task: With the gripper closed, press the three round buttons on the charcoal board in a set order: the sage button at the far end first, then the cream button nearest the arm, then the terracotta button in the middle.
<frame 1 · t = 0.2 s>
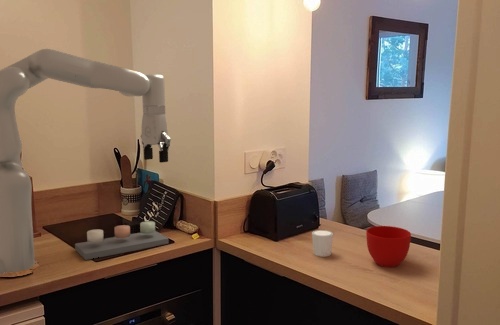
hand: (156, 160, 159), 28 cm above the worktop, tool pointing down, fingers open, 9 cm apart
sage button: (147, 227, 159), point 5 cm above the worktop, slide at 0.0 cm
button board: (122, 246, 154), on the worktop
cream button: (95, 236, 149), point 5 cm above the worktop, slide at 0.0 cm
white tapered tub: (322, 254, 149), on the worktop
ceramic cup: (388, 262, 142), on the worktop
terracotta button: (122, 231, 154), point 5 cm above the worktop, slide at 0.0 cm
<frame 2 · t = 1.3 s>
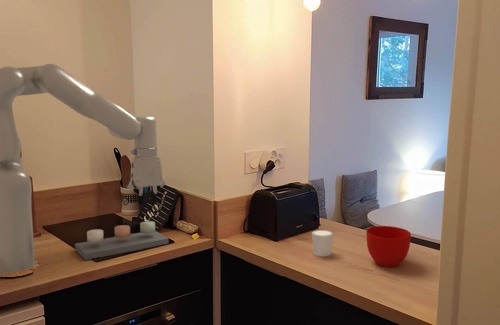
hand: (147, 205, 158), 13 cm above the worktop, tool pointing down, fingers open, 3 cm apart
nothing on the worktop moved.
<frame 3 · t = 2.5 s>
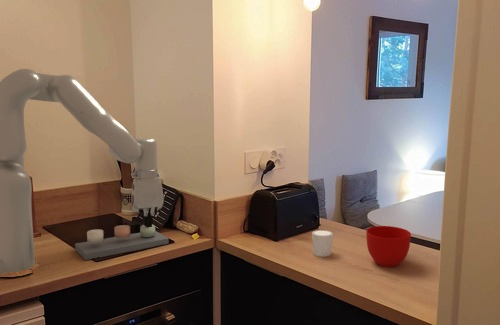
hand: (148, 226, 159), 6 cm above the worktop, tool pointing down, fingers closed
sage button: (147, 230, 159), point 4 cm above the worktop, slide at 1.2 cm, touching gripper
everything else where it was.
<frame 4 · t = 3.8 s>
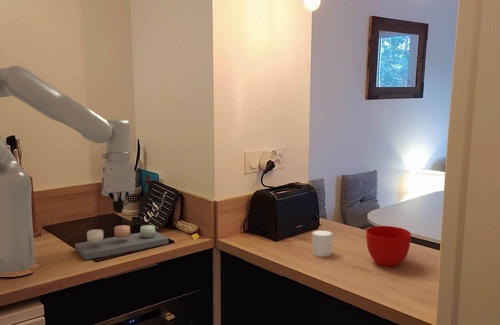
hand: (118, 211, 152), 12 cm above the worktop, tool pointing down, fingers closed
sage button: (147, 231, 159), point 4 cm above the worktop, slide at 1.4 cm
everything else where it was.
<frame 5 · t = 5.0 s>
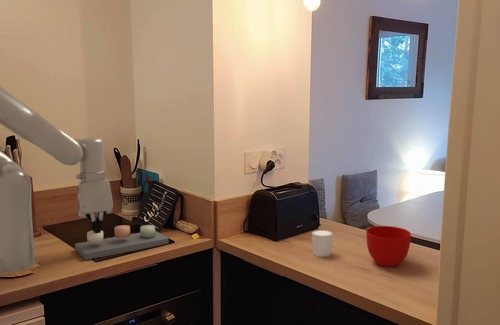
hand: (96, 231, 149), 7 cm above the worktop, tool pointing down, fingers closed
cream button: (95, 236, 149), point 5 cm above the worktop, slide at 0.3 cm, touching gripper
everything else where it was.
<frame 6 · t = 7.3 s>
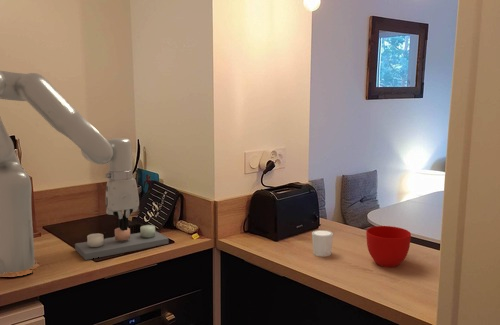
hand: (123, 229, 154), 6 cm above the worktop, tool pointing down, fingers closed
cream button: (95, 240, 149), point 4 cm above the worktop, slide at 1.4 cm
terracotta button: (122, 233, 154), point 5 cm above the worktop, slide at 0.8 cm
everything else where it was.
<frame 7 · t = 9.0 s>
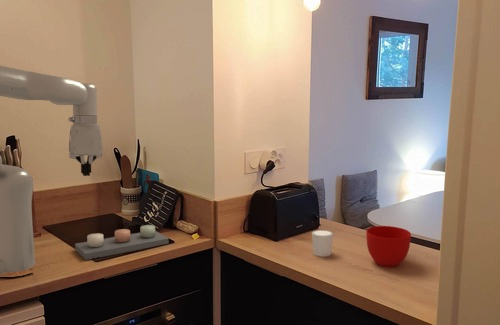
hand: (86, 175, 154), 24 cm above the worktop, tool pointing down, fingers closed
terracotta button: (122, 235, 154), point 4 cm above the worktop, slide at 1.4 cm
everything else where it was.
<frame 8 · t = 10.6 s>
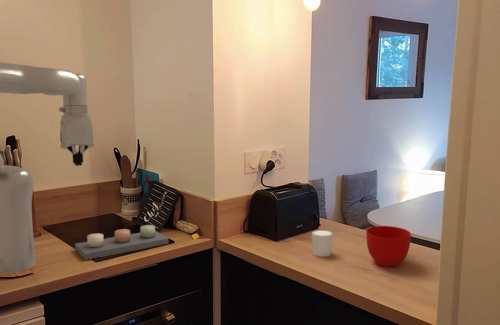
hand: (78, 165, 155), 27 cm above the worktop, tool pointing down, fingers closed
nothing on the worktop moved.
at the end: sage button slide at 1.4 cm; cream button slide at 1.4 cm; terracotta button slide at 1.4 cm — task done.
